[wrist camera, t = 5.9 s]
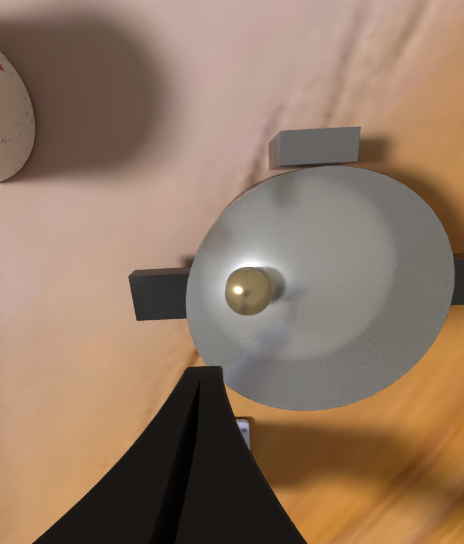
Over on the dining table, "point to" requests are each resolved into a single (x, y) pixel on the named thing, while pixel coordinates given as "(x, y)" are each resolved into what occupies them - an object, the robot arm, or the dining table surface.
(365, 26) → the dining table surface
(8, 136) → the teacup with lid
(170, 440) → the robot arm
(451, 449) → the dining table surface
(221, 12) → the dining table surface
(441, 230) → the cooker lid
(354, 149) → the cooker pot
